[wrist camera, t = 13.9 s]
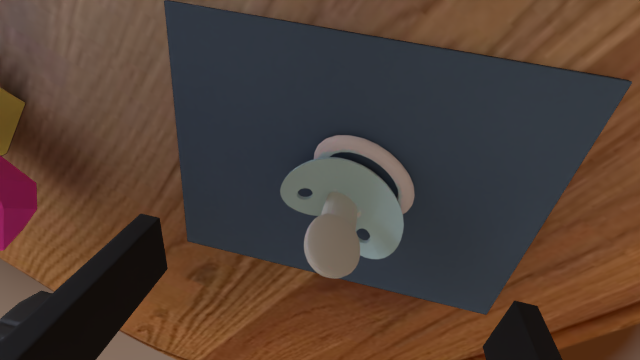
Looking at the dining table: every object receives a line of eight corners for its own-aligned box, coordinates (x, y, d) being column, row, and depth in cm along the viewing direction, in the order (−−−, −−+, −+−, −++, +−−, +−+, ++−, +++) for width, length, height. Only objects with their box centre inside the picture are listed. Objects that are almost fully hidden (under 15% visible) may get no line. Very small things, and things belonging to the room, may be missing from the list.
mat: (190, 237, 25) (187, 241, 24) (168, 0, 17) (163, 0, 16) (485, 310, 23) (486, 315, 22) (627, 79, 14) (633, 81, 14)
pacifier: (337, 106, 17) (278, 181, 20) (317, 153, 12) (240, 246, 15) (439, 187, 18) (369, 246, 21) (462, 263, 13) (365, 329, 16)
